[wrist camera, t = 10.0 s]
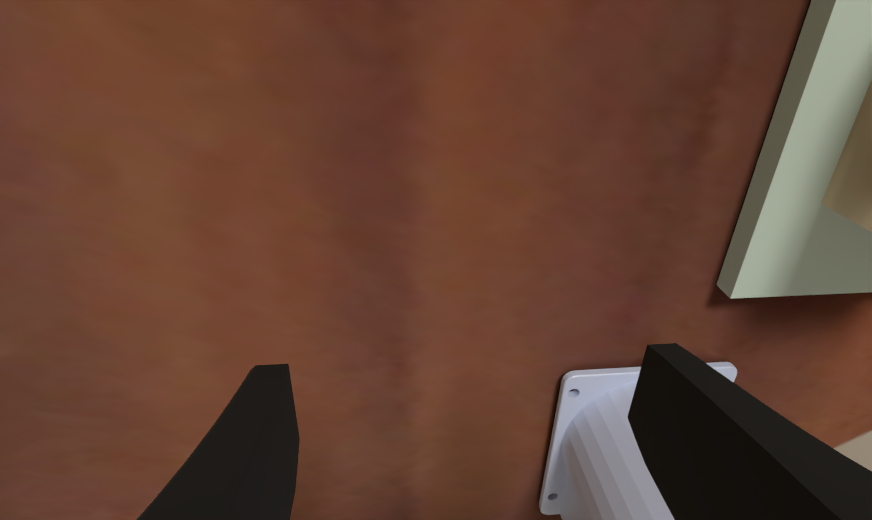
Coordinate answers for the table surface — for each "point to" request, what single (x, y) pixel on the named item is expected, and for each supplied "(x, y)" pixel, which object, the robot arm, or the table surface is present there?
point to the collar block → (855, 171)
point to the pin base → (807, 169)
